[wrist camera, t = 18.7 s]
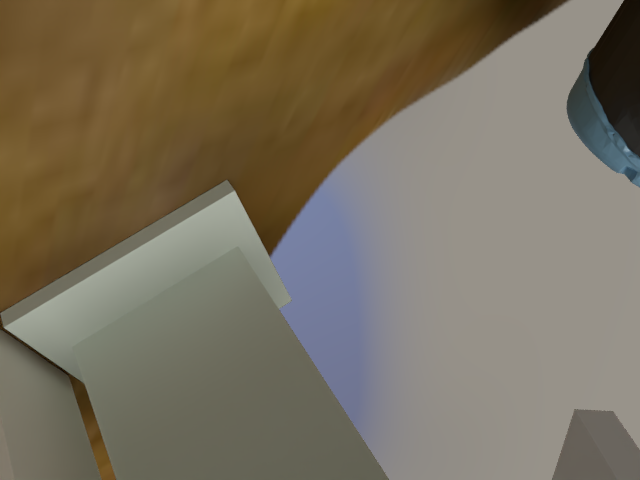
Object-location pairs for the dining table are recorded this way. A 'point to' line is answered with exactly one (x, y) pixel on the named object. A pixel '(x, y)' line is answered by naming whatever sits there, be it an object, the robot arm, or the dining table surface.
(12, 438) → the post
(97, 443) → the dining table surface
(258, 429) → the stand
